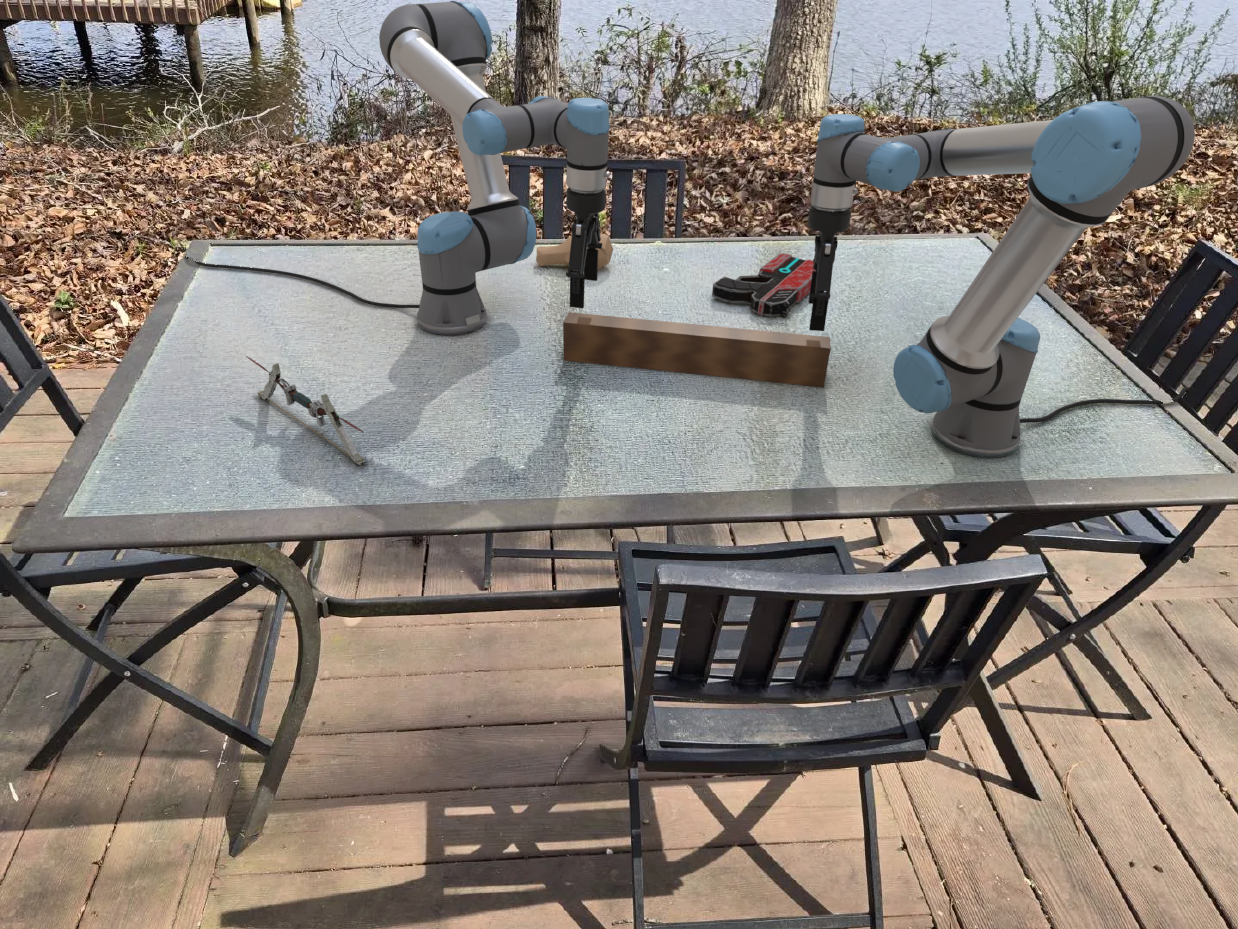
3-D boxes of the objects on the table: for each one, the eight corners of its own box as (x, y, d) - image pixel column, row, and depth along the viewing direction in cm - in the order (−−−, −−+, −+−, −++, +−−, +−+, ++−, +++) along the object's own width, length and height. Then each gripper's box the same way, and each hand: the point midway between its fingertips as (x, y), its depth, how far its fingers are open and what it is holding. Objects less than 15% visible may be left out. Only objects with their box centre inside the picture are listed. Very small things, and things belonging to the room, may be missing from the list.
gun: (708, 284, 207) (784, 305, 199) (760, 245, 229) (831, 262, 221) (706, 302, 209) (781, 323, 201) (758, 261, 231) (828, 278, 223)
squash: (614, 275, 223) (610, 243, 217) (537, 282, 224) (531, 251, 218) (615, 253, 231) (611, 222, 224) (540, 260, 232) (534, 229, 226)
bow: (375, 468, 148) (367, 417, 142) (366, 472, 146) (358, 421, 141) (259, 389, 169) (248, 342, 163) (250, 392, 168) (239, 345, 162)
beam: (563, 360, 182) (563, 322, 178) (568, 349, 187) (568, 311, 182) (823, 387, 176) (830, 348, 171) (823, 375, 180) (830, 336, 175)
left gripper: (593, 211, 154) (589, 321, 166) (617, 170, 174) (613, 271, 186) (551, 207, 155) (551, 316, 167) (580, 166, 175) (578, 267, 187)
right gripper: (855, 227, 148) (838, 343, 159) (848, 189, 169) (833, 294, 180) (810, 225, 149) (796, 340, 160) (809, 187, 170) (796, 291, 181)
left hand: (583, 292), depth 177 cm, fingers open, 13 cm apart
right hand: (816, 316), depth 170 cm, fingers open, 13 cm apart
